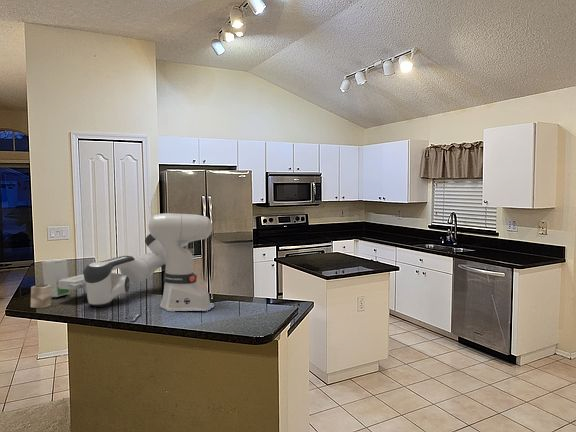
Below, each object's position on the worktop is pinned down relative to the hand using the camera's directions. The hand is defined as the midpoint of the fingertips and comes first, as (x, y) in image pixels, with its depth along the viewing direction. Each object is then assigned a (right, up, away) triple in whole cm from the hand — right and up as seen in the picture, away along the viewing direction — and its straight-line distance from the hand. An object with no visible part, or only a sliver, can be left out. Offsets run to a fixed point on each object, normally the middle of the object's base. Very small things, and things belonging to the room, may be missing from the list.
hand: (61, 279), depth 182 cm
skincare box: (-3, -7, +2) cm, 8 cm away
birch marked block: (0, -8, -15) cm, 17 cm away
